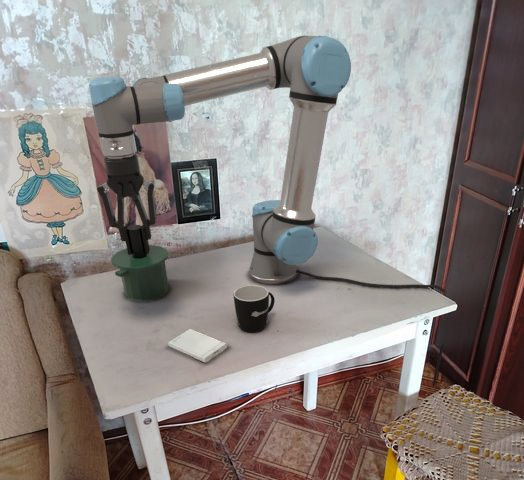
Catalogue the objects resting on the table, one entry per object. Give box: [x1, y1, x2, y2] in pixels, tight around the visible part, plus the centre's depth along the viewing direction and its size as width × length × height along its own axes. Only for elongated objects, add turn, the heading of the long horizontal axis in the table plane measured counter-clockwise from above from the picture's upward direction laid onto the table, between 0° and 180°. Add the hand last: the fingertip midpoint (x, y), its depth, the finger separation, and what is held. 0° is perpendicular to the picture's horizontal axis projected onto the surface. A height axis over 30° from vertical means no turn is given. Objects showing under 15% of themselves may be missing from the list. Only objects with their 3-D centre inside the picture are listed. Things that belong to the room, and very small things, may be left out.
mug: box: [233, 284, 276, 334], centre depth 130 cm, size 12×9×10 cm
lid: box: [110, 224, 169, 270], centre depth 124 cm, size 14×14×9 cm
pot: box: [114, 260, 170, 301], centre depth 148 cm, size 13×18×10 cm
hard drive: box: [167, 328, 228, 364], centre depth 124 cm, size 2×8×12 cm
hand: (139, 251), depth 126 cm, fingers closed on lid, 4 cm apart
